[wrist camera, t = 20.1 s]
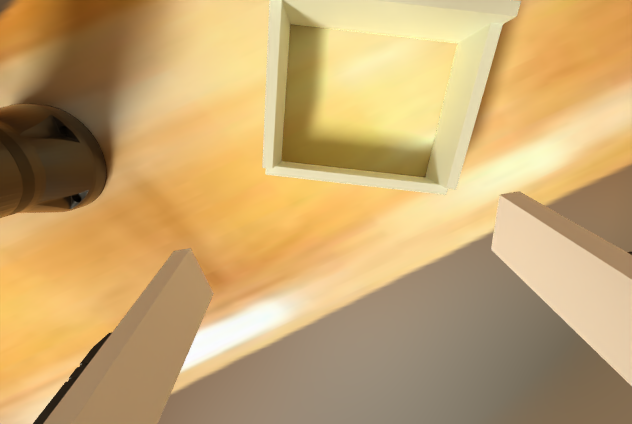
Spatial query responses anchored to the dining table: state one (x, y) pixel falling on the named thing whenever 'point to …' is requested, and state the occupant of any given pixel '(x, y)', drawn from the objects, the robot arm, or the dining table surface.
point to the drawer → (403, 21)
